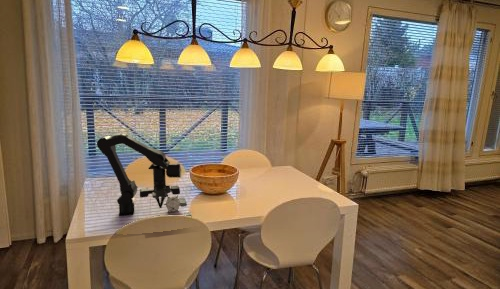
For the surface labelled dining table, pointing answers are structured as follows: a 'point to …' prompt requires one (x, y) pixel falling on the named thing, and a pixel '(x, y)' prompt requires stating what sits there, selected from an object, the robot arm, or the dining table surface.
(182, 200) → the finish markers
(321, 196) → the dining table surface
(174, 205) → the grey spiked polyhedron
